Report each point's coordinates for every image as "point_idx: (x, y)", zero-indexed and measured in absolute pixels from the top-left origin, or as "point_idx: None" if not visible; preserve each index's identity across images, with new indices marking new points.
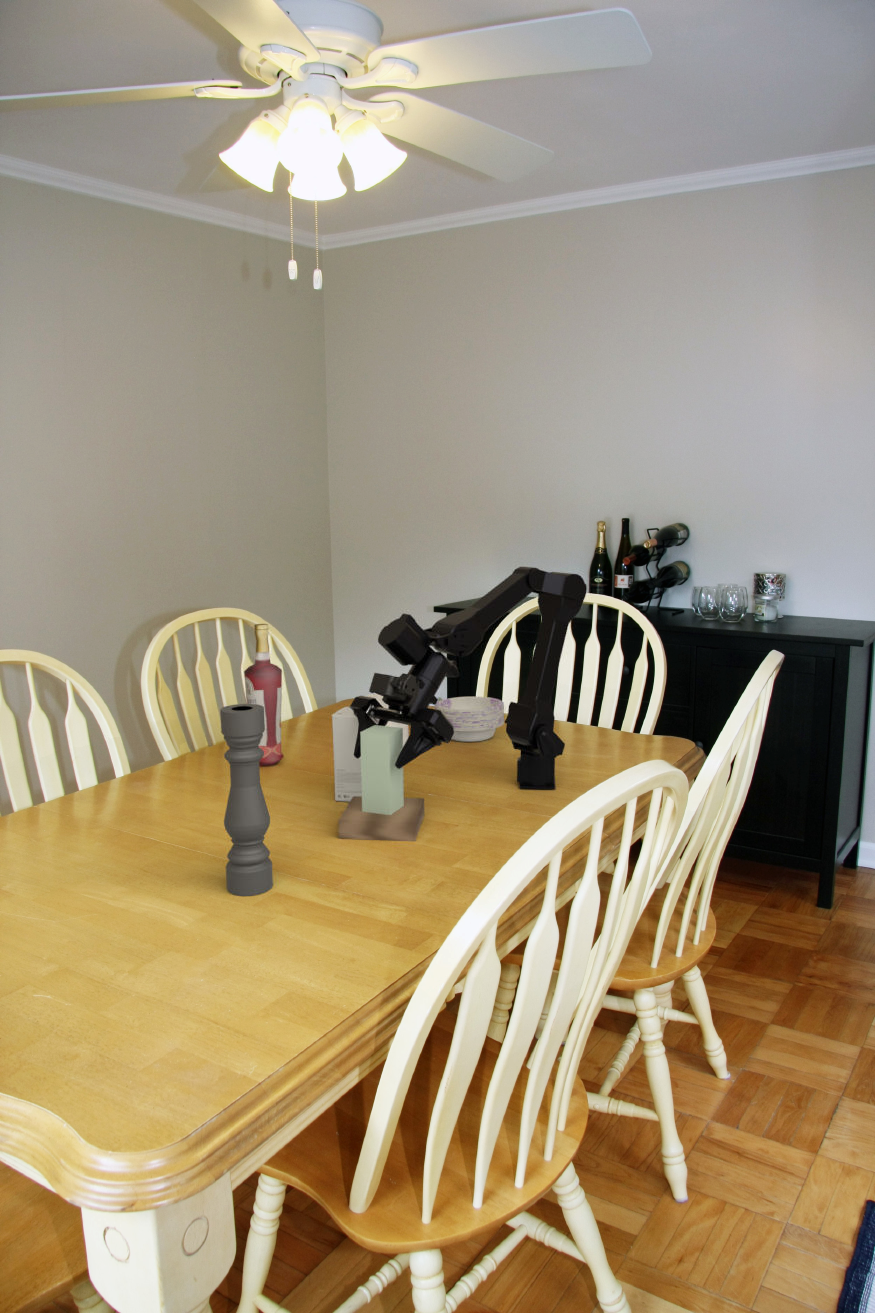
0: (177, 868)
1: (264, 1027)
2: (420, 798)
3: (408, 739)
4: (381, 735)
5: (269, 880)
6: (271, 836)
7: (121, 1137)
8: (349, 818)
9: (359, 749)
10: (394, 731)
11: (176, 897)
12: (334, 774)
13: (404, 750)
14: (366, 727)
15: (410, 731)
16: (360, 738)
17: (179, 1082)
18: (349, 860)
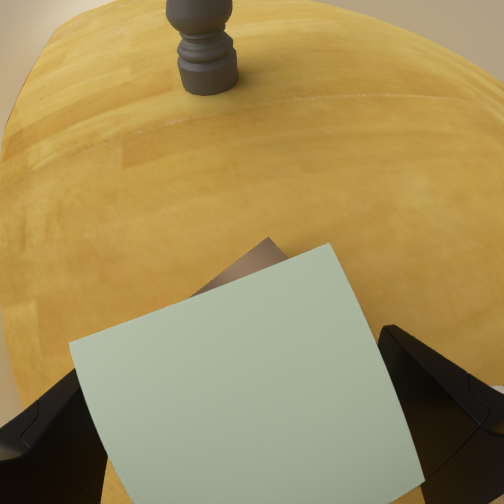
0: (324, 63)
1: (59, 51)
2: None
3: (35, 432)
4: (128, 321)
5: (182, 79)
6: (364, 178)
7: (75, 17)
8: (258, 262)
9: (395, 355)
10: (119, 462)
11: (249, 40)
12: (488, 385)
13: (62, 388)
14: (472, 436)
15: (9, 460)
16: (434, 374)
17: (73, 27)
18: (167, 200)
